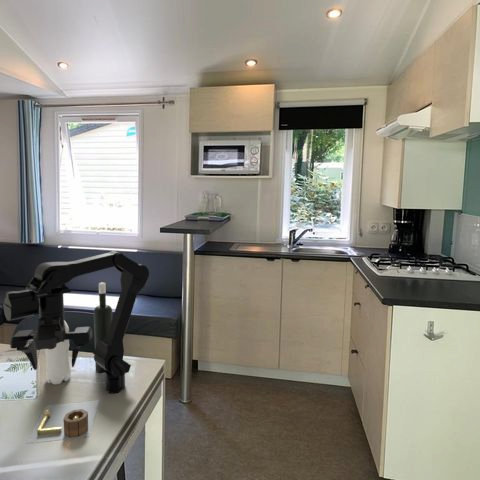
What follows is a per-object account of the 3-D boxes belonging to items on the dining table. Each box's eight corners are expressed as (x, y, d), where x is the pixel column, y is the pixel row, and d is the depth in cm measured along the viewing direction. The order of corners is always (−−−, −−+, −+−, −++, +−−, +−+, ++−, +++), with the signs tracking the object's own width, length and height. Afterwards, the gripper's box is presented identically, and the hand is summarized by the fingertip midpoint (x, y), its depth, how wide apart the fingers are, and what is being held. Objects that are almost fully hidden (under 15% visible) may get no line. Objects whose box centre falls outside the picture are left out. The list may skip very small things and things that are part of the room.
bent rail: (45, 416, 98) (45, 409, 98) (68, 414, 99) (68, 407, 99) (36, 435, 90) (35, 428, 90) (60, 432, 92) (60, 425, 91)
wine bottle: (95, 367, 127) (92, 281, 124) (112, 364, 130) (110, 280, 126) (96, 374, 122) (93, 285, 119) (114, 371, 125) (112, 284, 121)
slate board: (46, 408, 103) (46, 405, 103) (99, 403, 106) (99, 400, 106) (26, 446, 88) (25, 443, 88) (89, 439, 90) (89, 436, 90)
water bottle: (40, 385, 115) (36, 306, 112) (58, 374, 122) (54, 300, 119) (58, 389, 113) (54, 309, 110) (76, 378, 120) (73, 302, 117)
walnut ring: (67, 425, 95) (67, 410, 94) (89, 423, 96) (88, 408, 95) (62, 438, 90) (61, 422, 89) (85, 435, 91) (84, 420, 90)
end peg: (74, 429, 93) (73, 416, 93) (80, 428, 93) (79, 415, 93) (72, 432, 92) (72, 419, 91) (78, 431, 92) (78, 418, 92)
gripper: (-1, 323, 88) (3, 386, 90) (83, 319, 91) (86, 379, 93) (16, 309, 98) (20, 365, 100) (91, 306, 102) (93, 360, 104)
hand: (54, 367), depth 99 cm, fingers open, 9 cm apart
